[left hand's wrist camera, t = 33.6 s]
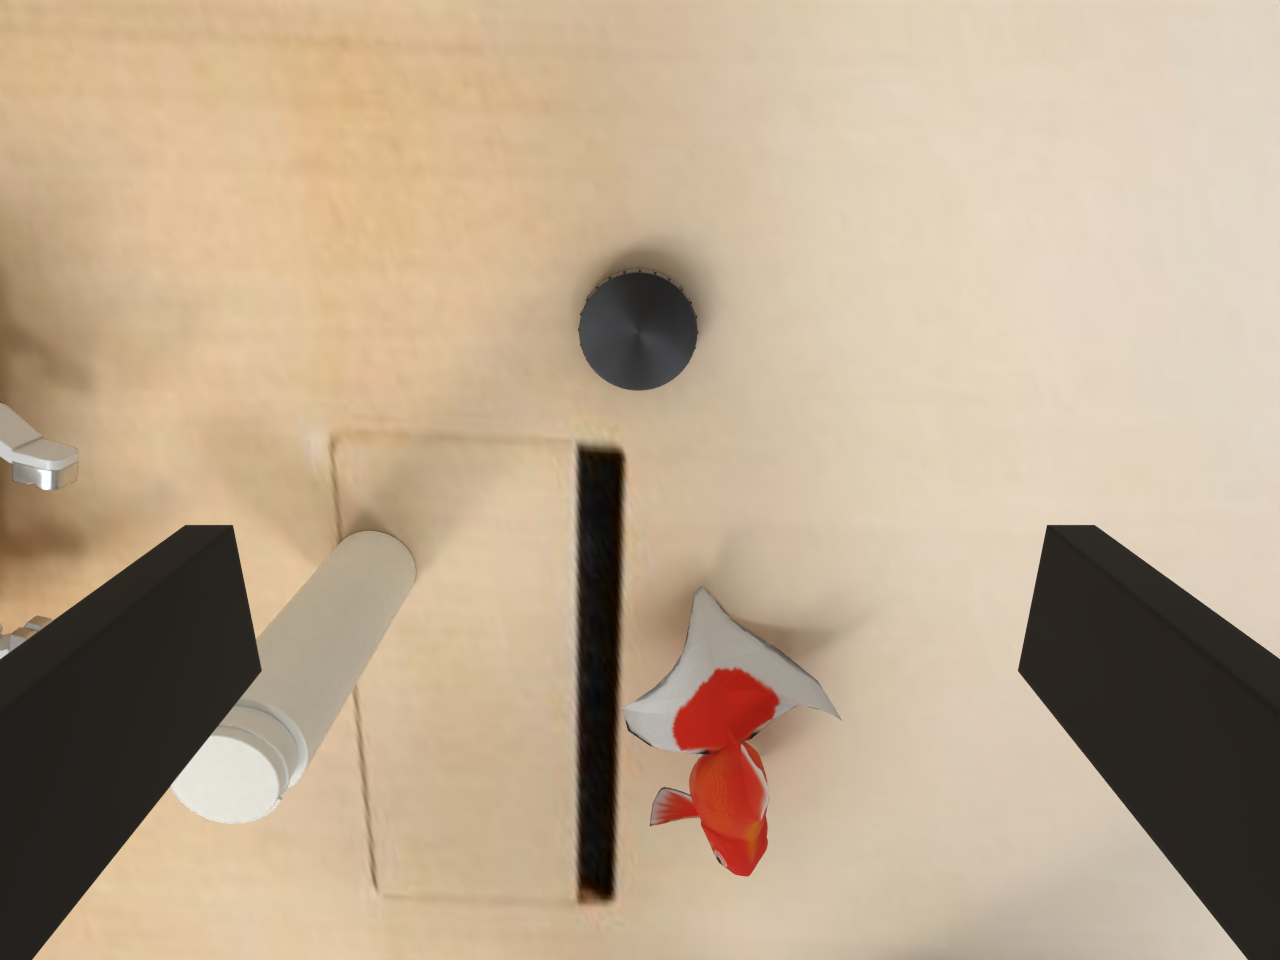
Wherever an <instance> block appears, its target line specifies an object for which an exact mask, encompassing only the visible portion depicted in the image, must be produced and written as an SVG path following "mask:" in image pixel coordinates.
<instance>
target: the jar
mask: <svg viewBox="0 0 1280 960" xmlns="http://www.w3.org/2000/svg"><path fill="white" fill-rule="evenodd" d="M415 578H416V567H415V563H414V560H413V557H412V555H411V553H410V552H409V551H408V549H407V548H406V547H405V546H404V545H403V544H402V543H401V542H400V541H399V540H397V539H396V538H394V537H392V536H390V535H388V534H385V533H382V532H378V531H361V532H357V533H354V534H352V535H350V536H348V537H346V538H345V539H344V540H343V541H342V542H340V544H339V545H338V546H337V547H336V548H335V549H334V550H333V552H332V553H331V554H330V555H329V556H328V557H327V559H326V560H325V561H324V562H323V563H322V564H321V566H320V567H319V568H318V569H317V570H316V571H315V572H314V574H313V575H312V576H311V577H310V578H309V579H308V581H307V582H306V583H305V584H304V585H303V586H302V587H301V589H300V590H299V591H298V592H297V593H296V594H295V596H294V597H293V598H292V599H291V600H290V601H289V602H288V604H287V605H286V606H285V607H284V608H283V609H282V611H281V612H280V613H279V614H278V615H277V616H276V618H275V619H274V620H273V621H272V622H271V623H270V624H269V626H268V627H267V628H266V629H265V630H264V631H263V633H262V634H261V635H260V636H259V637H258V638H257V639H256V643H257V648H258V653H259V658H260V663H261V668H262V672H261V673H260V674H259V675H258V677H257V678H256V679H255V680H254V682H253V683H252V684H251V685H250V687H249V688H248V689H247V690H246V692H245V693H244V694H243V695H242V697H241V698H240V699H239V700H238V702H237V703H236V704H235V705H234V707H233V708H232V709H231V710H230V712H229V713H228V714H227V715H226V717H225V718H224V719H223V721H222V722H221V723H220V724H219V726H218V727H217V728H216V729H215V731H214V732H213V733H212V734H211V736H210V737H209V738H208V739H207V741H206V742H205V743H204V744H203V746H202V747H201V748H200V749H199V751H198V752H197V753H196V754H195V756H194V757H193V758H192V759H191V761H190V762H189V763H188V764H187V766H186V767H185V768H184V769H183V771H182V772H181V773H180V775H179V776H178V777H177V778H176V780H175V781H174V782H173V783H172V785H171V786H170V787H171V789H172V791H173V793H174V794H175V796H176V797H177V798H178V799H179V800H180V802H181V803H182V804H183V805H185V806H186V807H187V808H188V809H190V810H191V811H193V812H194V813H196V814H198V815H200V816H202V817H204V818H206V819H209V820H212V821H216V822H221V823H230V824H237V823H245V822H250V821H251V822H253V821H255V820H257V819H260V818H262V817H265V816H267V815H268V814H269V813H271V812H272V811H273V810H275V808H276V807H277V805H278V804H279V802H280V801H281V800H282V797H283V795H284V794H285V792H286V791H287V789H289V788H291V787H292V786H293V785H295V784H296V783H297V782H298V781H299V780H300V778H301V777H302V776H303V774H304V772H305V771H306V769H307V767H308V766H309V764H310V762H311V760H312V759H313V757H314V755H315V754H316V752H317V750H318V748H319V747H320V745H321V743H322V742H323V740H324V738H325V736H326V735H327V733H328V731H329V730H330V728H331V726H332V724H333V723H334V721H335V719H336V717H337V716H338V714H339V712H340V711H341V709H342V707H343V705H344V704H345V702H346V700H347V699H348V697H349V695H350V693H351V692H352V690H353V688H354V687H355V685H356V683H357V681H358V680H359V678H360V676H361V675H362V673H363V671H364V669H365V668H366V666H367V664H368V663H369V661H370V659H371V657H372V656H373V654H374V652H375V651H376V649H377V647H378V645H379V644H380V642H381V640H382V638H383V637H384V635H385V633H386V632H387V630H388V628H389V626H390V625H391V623H392V621H393V620H394V618H395V616H396V614H397V613H398V611H399V609H400V608H401V606H402V604H403V602H404V601H405V599H406V597H407V596H408V594H409V592H410V590H411V589H412V587H413V585H414V582H415Z"/></svg>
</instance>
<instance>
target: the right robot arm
mask: <svg viewBox="0 0 1280 960" xmlns="http://www.w3.org/2000/svg"><path fill="white" fill-rule="evenodd" d="M78 453H79V451H78V449H77V448H75V447H71V446H68V445H64V444H60V443H57V442H53V441H49V440H46V439H42V435H41V434H40V433H38V432H37V431H36V430H35V429H34V428H33V427H32V426H30V425H29V424H28V423H27V422H26V421H25V420H23V419H22V418H21V417H20V416H19V415H18V414H17V413H15V412H14V411H13V410H12V409H11V408H10V407H8V406H7V405H6V404H2V403H0V457H2V458H3V459H4V460H6V461H7V462H9V463H10V464H12V479H13V481H14V482H18V483H22V484H25V485H30V484H33V483H34V484H35V485H36V486H37V487H38V488H41V489H45V490H58V489H61V488H63V487H65V486H66V484H67V483H68V482H69V483H73V482H75V481H76V480H77V471H78ZM52 621H53V620H52V619H50V618H45V617H41V616H36V617H34V618H33V619H31V620H30V621H29V622H27V623H26V625H25V626H24V628H22V627H20V628H18V629H17V630H16V631H14V632H13V633H10V634H5V635H1V633H2V626H1V625H0V659H1V658H2V657H4V656H5V655H7V654H8V653H9V652H11V651H12V650H13V649H15V648H16V647H18V646H19V645H20V644H22V643H23V642H25V641H26V640H27V639H29V638H30V637H31V636H33V635H34V634H36V633H37V632H38V631H40V630H41V629H43V628H44V627H45V626H47V625H48V624H49V623H51V622H52Z"/></svg>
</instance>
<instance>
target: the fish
mask: <svg viewBox="0 0 1280 960" xmlns="http://www.w3.org/2000/svg"><path fill="white" fill-rule="evenodd" d="M796 706H806V707H811V708H815V709H820V710H823V711H825V712H827V713H830V714H832V715H834V716H835V717H837V718H839V719H840V720H842V719H841V718H840V716H839V714H838V713H837V711H836V710H835V708H834V706H833V705H832V703H831V702H830V700H829V698H828V697H827V695H826V694H825V692H824V690H823V689H822V687H821V686H820V684H819V682H818V681H817V680H816V679H814V678H813V677H812V676H811V675H810V674H808V673H807V672H806V671H805V670H803V669H802V668H801V667H800V666H798V665H797V664H796V663H795V662H793V661H792V660H791V659H790V658H789V657H787V656H786V655H785V654H784V653H782V652H781V651H780V650H778V649H777V648H775V647H773V646H772V645H770V644H769V643H767V642H766V641H764V640H762V639H761V638H759V637H758V636H756V635H754V634H753V633H751V632H750V631H748V630H747V629H745V628H744V627H742V626H741V625H740V624H738V623H737V622H735V621H734V620H732V619H731V618H730V617H729V616H728V615H727V613H726V612H725V611H724V610H723V608H722V607H721V606H720V605H719V604H718V603H717V601H716V600H715V599H714V598H713V597H712V596H711V595H710V593H709V592H708V591H707V590H706V589H705V588H704V587H703V586H701V587H700V588H699V589H698V590H697V591H696V592H695V595H694V600H693V606H692V613H691V619H690V623H689V628H688V633H687V637H686V642H685V647H684V651H683V654H682V655H681V657H680V658H679V660H678V662H677V663H676V665H675V666H674V668H673V669H672V671H671V672H670V673H669V674H668V675H667V676H666V677H665V678H664V679H663V680H662V681H661V682H660V683H659V684H658V685H657V686H656V687H655V688H653V689H652V690H650V691H649V692H648V693H646V694H645V695H643V696H642V697H640V698H639V699H637V700H636V701H634V702H632V703H631V704H629V705H627V706H625V707H623V708H622V710H623V713H624V717H625V721H626V724H627V728H628V731H629V732H631V733H632V734H634V735H635V736H637V737H638V738H640V739H641V740H642V741H644V742H645V743H647V744H648V745H650V746H652V747H656V748H659V749H662V750H666V751H673V752H681V753H692V754H696V755H697V756H698V757H699V760H698V761H697V762H696V764H695V765H694V767H693V769H692V772H691V774H690V779H689V785H690V793H691V795H689V794H686V793H684V792H681V791H678V790H675V789H671V788H666V787H664V788H661V790H660V791H659V792H658V794H657V796H656V798H655V800H654V802H653V805H652V812H651V819H650V826H652V825H659V824H664V823H667V822H670V821H676V820H680V819H684V818H695V817H700V819H701V826H702V828H703V830H704V832H705V834H706V836H707V838H708V841H709V843H710V845H711V847H712V850H713V852H714V854H715V856H716V858H717V860H718V862H719V863H720V864H721V865H722V866H724V867H726V868H727V869H728V870H730V871H731V872H732V873H734V874H735V875H740V876H749V875H750V874H751V873H752V871H753V870H754V868H755V867H756V865H757V863H758V862H759V860H760V859H761V857H762V856H763V854H764V853H765V851H766V849H767V845H768V840H767V820H766V810H767V804H768V801H769V799H770V798H769V791H768V785H767V779H766V775H765V771H764V768H763V765H762V762H761V759H760V756H759V754H758V753H757V752H756V751H755V750H754V749H753V748H752V747H751V746H750V745H749V744H747V743H745V742H743V741H746V740H749V739H752V738H753V737H754V736H755V735H756V734H757V733H758V732H759V731H760V730H762V729H763V728H764V727H765V726H766V725H767V724H768V723H769V722H770V721H771V720H773V719H775V718H777V717H778V716H780V715H782V714H784V713H786V712H788V711H789V710H791V709H792V708H794V707H796Z"/></svg>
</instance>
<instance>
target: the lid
mask: <svg viewBox="0 0 1280 960" xmlns="http://www.w3.org/2000/svg"><path fill="white" fill-rule="evenodd" d="M586 301H587V303H586V305H585V307H584V309H582V311H581V313H580V315H581V320H580V326H579V328H578V331H579V335H580V346H581V347H582V350H583V353H584V355H585V357H586V360H587V361H588V363H589V364H590V366H591V367H592V368H593V370H594V371H595V372H596V373H597V374H598V375H599V376H600V377H602V378H603V379H604V380H606V381H607V382H609V383H611V384H613V385H615V386H617V387H620V388H623V389H628V390H648V389H653V388H657V387H660V386H662V385H664V384H666V383H668V382H669V381H671V380H673V379H674V378H675V377H676V376H677V375H679V374H680V373H681V371H682V370H683V369H684V368H685V367H686V365H687V364H688V363H689V360H690V359H691V357H692V354H693V352H694V349H695V348H696V347H695V345H696V341H697V334H698V330H697V322H696V318H697V315H696V313H695V312H694V310H693V308H692V306H691V303H692V302H691V299H690V298H687V296H686V294H685V293H684V291H683V288H682V286H681V285H680V286H679V285H677V284H676V283H675V282H674V281H673V280H672V279H671V277H670V276H669V275H668V277H667V276H665V275H664V274H662V273H659V272H657V271H656V269H654V271H653V270H649V269H641V267H639V268H638V269H628V270H626V268H624V269H623V271H620V272H617V273H615V274H613V275H611V274H609V276H608V278H606V279H605V280H604V281H603V282H601V283H600V284H599V283H598V284H597V285H596V287H595V290H594V291H593V292H592V294H591V295H588V297H587V299H586Z"/></svg>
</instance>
